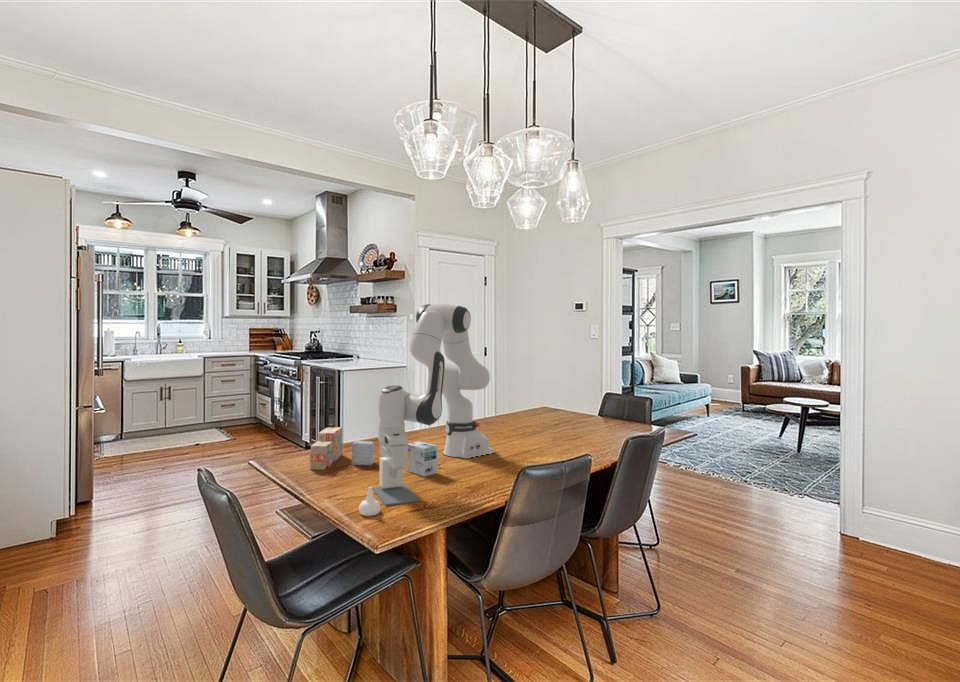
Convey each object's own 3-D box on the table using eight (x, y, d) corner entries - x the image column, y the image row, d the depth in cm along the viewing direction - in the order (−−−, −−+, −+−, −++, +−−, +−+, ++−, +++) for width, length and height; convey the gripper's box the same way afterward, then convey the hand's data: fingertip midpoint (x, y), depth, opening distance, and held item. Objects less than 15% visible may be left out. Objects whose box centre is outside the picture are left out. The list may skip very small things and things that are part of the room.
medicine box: (374, 462, 199) (374, 441, 199) (370, 465, 194) (371, 444, 194) (355, 461, 200) (355, 440, 199) (351, 465, 195) (351, 443, 195)
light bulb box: (438, 473, 186) (438, 445, 185) (424, 477, 181) (424, 448, 180) (419, 467, 193) (419, 440, 192) (406, 471, 188) (406, 443, 188)
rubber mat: (404, 485, 171) (404, 483, 171) (419, 501, 156) (419, 499, 156) (372, 489, 167) (372, 487, 167) (385, 506, 151) (385, 504, 151)
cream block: (399, 481, 170) (399, 455, 169) (402, 484, 166) (402, 458, 166) (379, 483, 167) (379, 457, 166) (382, 487, 163) (382, 460, 163)
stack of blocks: (326, 470, 188) (326, 438, 188) (309, 469, 188) (310, 438, 188) (342, 455, 210) (342, 426, 209) (327, 455, 210) (327, 426, 209)
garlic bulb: (355, 517, 144) (354, 491, 143) (363, 507, 150) (362, 482, 149) (376, 519, 143) (375, 493, 142) (383, 509, 149) (382, 484, 148)
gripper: (375, 429, 174) (374, 467, 174) (390, 441, 155) (389, 485, 156) (392, 427, 177) (392, 465, 177) (409, 440, 158) (409, 482, 158)
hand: (391, 475), depth 166 cm, fingers closed on cream block, 4 cm apart
